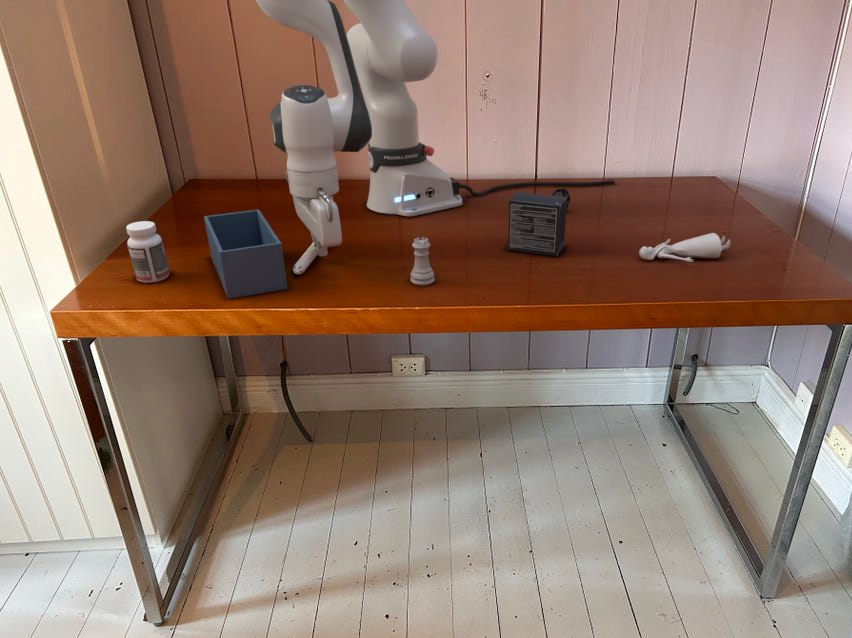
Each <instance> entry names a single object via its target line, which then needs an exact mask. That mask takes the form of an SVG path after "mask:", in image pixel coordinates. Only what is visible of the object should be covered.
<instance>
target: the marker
mask: <svg viewBox="0 0 852 638" xmlns="http://www.w3.org/2000/svg"><path fill="white" fill-rule="evenodd" d="M317 256H319V255H318V254H317V252H316V251H315V249H314V243H313V242H312V243H311V245H310V246H309V247H308V248H307V249H306V251H304V253H303V254H302V255H301V256H300V258H299V259H298V260H297V261H296V262H295V264H293V267H292V271H293V273H294V275H302V274H303V273H305V271H306V270H307V269H308V267H309V266H310V265H311V264H312V263H313V261H314V260H315V258H316V257H317Z"/></svg>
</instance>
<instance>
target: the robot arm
mask: <svg viewBox="0 0 852 638" xmlns="http://www.w3.org/2000/svg"><path fill="white" fill-rule="evenodd" d="M255 2H256V4H257V6H258V7H259V8H260V10H261V11H262V12H263V13H264V15H266V16H267V17H268V18H269V19H271V20H272V21H274V22H276V23H277V24H280V25H281V26H284V27H286V28H289V29H292V30H295V31H297V32H300V33H302V34H305V35H307V36H310V37H312V38H313V39H315V40H316V41H318V42H319V43H320V44H321V45H322V46H323V48H324V49H325V51H326V53H327V57H328V60H329V64H330V67H331V71H332V75H333V78H334V82H335V84H336V85H335V86H336V88H337V92H338V94H337V95H336V96H334V97H328V96H327V93H326V92H325V90H324V89H322V88H321V87H318V86H314V85H309V84H298V85H293V86H290V87H286V89H284V90H283V91H282V93H281V101H279V102H278V103H277V104H276V105H275V106H274V107H273V108H272V110H271V111H270V112H269V119H270V121H271V126H272V137H273V138H272V143H273V145H274V146H275V147H276V148H278V149H279V150H280V151H282V152H284V153H285V154H287V160H286V172H285V176H286V182H287V183H288V189H289V193H290V195H292V201H293V205H294V208H295V212H296V215H297V217H298V218H299V220H300V221H301V222H302V223H303V225H304V226H305V227H306V228H307V229H308V231H309V232H310V235H311V238H312V243H314V249H315V251H316V252H317V254H318V255H317V256H318V257H320V258H321V257H326V256H328V254H329V253H328V251H329V250H328V248H332V247H338V246H341V245H342V243H343V234H342V226H341V219H340V218H341V217H340V213H339V208H338V205H337V203H336V202H335V201H334V196H333V195H336V194H337V193H338V192H339V191H340V187H339V186H340V183H339V173H338V163H337V159H336V156H335V154H334V153H335V152H340V153H359V152H360V151H361V150H363V149H364V148H365V147H366V146H367V161H368V163H367V164H368V167H369V170H370V173H369V174H370V175H369V176H370V178H369V191H368V196H367V201H366V208H368V209H369V210H371V211H373V212H375V213H380V214H386V215H399V216H404V217H415V216H419V215H424V214H430V213H434V212H438V211H442V210H443V211H444V210H447V209H452V208H456V207H460V206H462V205H463V204H464V203H463V202H464V201H463V198H462V196H461V194H460V189H465V190H467V191H468V192H469V194H470V195H471V196H474V197H481V196H484V195H488V194H490V193H492V192H494V191H498V190H501V189H509V188H517V187H530V186H532V187H533V186H537V187H538V186H567V187H568V186H570V187H582V186H585V187H586V186H587V187H588V186H600V185H612V184H613V185H614V184H615V183H616V181H615V179H610V180H609V179H608V180H597V181H576V182H575V181H527V182H515V183H514V182H513V183H507V184H501V185H496V186H492V187H489V188H488V189H486V190H484V191H481V192H475V191H474V190H473V189H472V187H471V186H469V185H467V184H464V183H463V184H462V183H460V182H459V181H458V179H456V178H454V177H450V176H449V175H448V174H447V172H445V170H443V169H442V168H440V167H439V166H437V165H436V164H435V163H434V162H432V161H431V160H429V159H428V157H432V156H433V155H434V154H435V149H434V148H433V147H432V146H430V145H426V144H424V143H422V142H420V139H419V112H418V107H417V105H416V103H415V101H414V100H413V98H412V97H411V94H410V93H409V90H408V87H407V84H406V83H415V82H419V81H424V80H427V78H429V77H430V76H431V75H432V74H433V72H434V71H435V69H436V67H437V63H438V58H439V57H438V55H439V53H438V47H437V43H436V41H435V40H434V38H433V37H432V36H431V34H429V33H428V32H427V31H426V30H425V29H424V28H423V27H422V26H421V24H420V23H419V22H418V20H417V18H416V17H415V15H414V14H413V12H412V11H411V8H410V7H409V5H408V4H407V2H406V0H343V2H344V5H345V6H346V7H347V8H348V9H349V11H350V12H352V13H353V15H354V16H355V17H356V18H357V20H358V21H359V23H357V24H354V25H353V26H351V27H350V29H348V31H347V33H346V30H345V26H344V22H343V19H342V17H341V14H340V12H339V9H338V7H337V6H336V3H334V2H333V1H332V0H255Z"/></svg>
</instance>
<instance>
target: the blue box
mask: <svg viewBox="0 0 852 638" xmlns="http://www.w3.org/2000/svg"><path fill="white" fill-rule="evenodd" d="M203 219H204V224H205V230H206V235H207V241H208V245H209V252H210V257H211V260H212V263H213V265H214V267H215V270H216V272H217V276H218V278H219V280H220V282H221V285H222V288H223V290H224V292H225V295H226V297H227V299H234V298H241V297H246V296H253V295H258V294H259V295H260V294H266V293H270V292H277V291H282V290H288V281H287V274H286V267H285V260H284V252H283V246H282V242H281V241H280V240H279V237H278V236H277V235H276V233H275V232H274V230H273V228H272V227H271V226H270V224H269V222H268V221H267V220H266V218H265V217H264V215H263V213H262V211H261V210H260V209H253V210H245V211H236V212H235V211H234V212H229V213H220V214H219V213H218V214H213V215H205V216H203Z"/></svg>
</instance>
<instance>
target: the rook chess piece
mask: <svg viewBox="0 0 852 638" xmlns="http://www.w3.org/2000/svg"><path fill="white" fill-rule="evenodd" d="M420 238H421V239H420ZM411 246H412V248H413V249H414V252H413V255H414V264H413V267H412V271H411V272H410V278H409V279H410V282H411V283H412V284H413V285H415V286H419V287H424V286H429V285H431V284H433V283H434V282H435V277H434V276H435V272H434V270H433V269H432V266H431V265H430V264H431V263H430V259H429V255H430V251H429V248H430V247H431V243H430V242H429V238H428V237H425V236H424V237H423V236H422V237H416V238H414V239H413V243H412V244H411Z"/></svg>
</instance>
